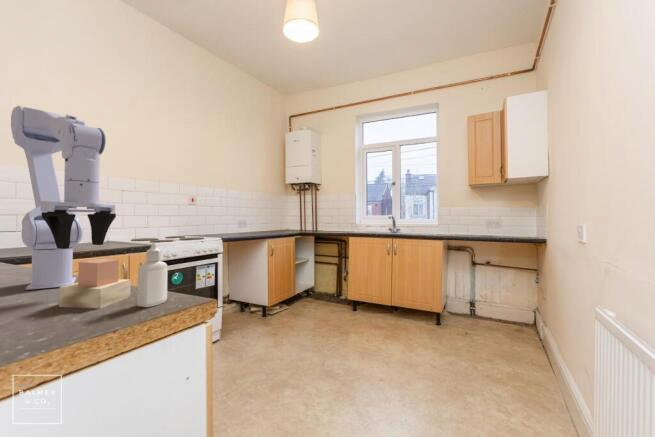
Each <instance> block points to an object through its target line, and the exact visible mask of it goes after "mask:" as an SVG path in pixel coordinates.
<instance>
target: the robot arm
mask: <svg viewBox="0 0 655 437" xmlns="http://www.w3.org/2000/svg"><path fill="white" fill-rule="evenodd" d="M10 115H11V116H10V129H11V133H12V139H13V141H14V144H15V145H16V146H19V148H22V149H23V151H24V153H25V157H26V161H27V167H28V173H29V178H30V182H31V183H30V184H31V188H32V194H33V198H34V205H35V208H33V209H32V210H30V211H28V212H26V213H25V215H24V216H23V217H22V220H21V240H22V243H23V244H24V246H26V247H27V248H29V249H31V283H30V284H28V285H27V286H26V287H25V290H27V291H28V290H40V289H50V288H51V289H52V288H60V287H62V286H66V285H70V284H73V283H76V282H75V281H76V279H77V277H76V276H73V266H74V264H73V259H74V258H73V257H74V255H73V252H74V249H73V248H76V247H77V245H78V244H80V242H81V241H82V238H83V232H84V231H83V230H84V229H83V225H82V223H81V222H80V221H79V218H78V215H77V213H88V214H87V215H86V216H87V218H88V222H89V224H90V225H89V226H90V232H91V244H92V245H94V246H102V245H103V244H104V242H105V239H106V235H107V233H108V230H109V229H110V227H111V224H112V223H113V222H114V220H115V219H116V216H117V213H116V204H111V203H110V204H109V203H100V164H101V163H100V158H101V157H100V156H101V155H102V154H103V153H104V150H105V148H106V142H107V141H106V139H107V138H106V133H105V131H104V130H103V129H102V128H100V127H92V126H89V125H86V122H84V120H83V121H82V120H78V119H77V117H76V116H74V115H71V114H66V115H62V114H59V113H58V114H57V113H53V112H51V111H45V110H41V109H36V108H32V107H31V108H30V107H26V106H21V105H16V106H14V108H13V109H12V110H11V114H10ZM58 152H61V157H62V159H64V184H63V185H64V186H63V187H64V188H63V194H64V195H63V197H64V198H63V201H62V198H61V193H60V192H61V191H60V187H59V184H58V177H57V173H56V168H55V162H54V159H53V155H54V154H55V153H58ZM77 208H86V209H77Z"/></svg>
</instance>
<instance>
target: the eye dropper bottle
mask: <svg viewBox="0 0 655 437" xmlns="http://www.w3.org/2000/svg"><path fill="white" fill-rule="evenodd" d="M161 252H162V251H161V249H159V248H158V247H157V242H153V243H152V242H151V246H150V247H149V249H146V257H145V258H146V259H145V260H146V262H144V263H142V264H141V265H139V267H138V270H137V296H136V297H137V299H136V300H137V301H136V304H137V307H139V308H152V307H156V306H158V305H161V304H163V303H165V302H167V299H168V264H167V263H166V262H164V261H161V259H162V258H161Z"/></svg>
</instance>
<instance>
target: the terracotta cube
mask: <svg viewBox="0 0 655 437" xmlns="http://www.w3.org/2000/svg"><path fill="white" fill-rule="evenodd" d="M119 264H120V263H119V259H112V258H111V259H110V258H96V259H95V258H94V259H88V260H81V261H78V269H77V270H78V272H77V273H78V274H77V275H78V276H77V278H78V280H77V282H78V285H83V286H93V287H99V286H103V285H107V284H111V283H115V282H118V279H119Z"/></svg>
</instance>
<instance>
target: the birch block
mask: <svg viewBox="0 0 655 437" xmlns="http://www.w3.org/2000/svg"><path fill="white" fill-rule="evenodd" d="M131 282H132V281H131V279H126V278H125V279H124V278H123V279H122V278H118V282H115V283H111V284H107V285H103V286H99V287H93V286H83V285H78V281H77V282H74V283H73V284H70V285H66V286H62V287H58V288H59V294H58V297H59V299H58V300H59V301H58V303H59V304H58V307H59V308H60V307H62V308H63V307H64V308H80V309H81V308H82V309H83V308H84V309H102V308H105V307H107V306H110V305H114V304H116V303H118V302H120V301H123V300H126V299H128V297H129V298H131Z"/></svg>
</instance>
